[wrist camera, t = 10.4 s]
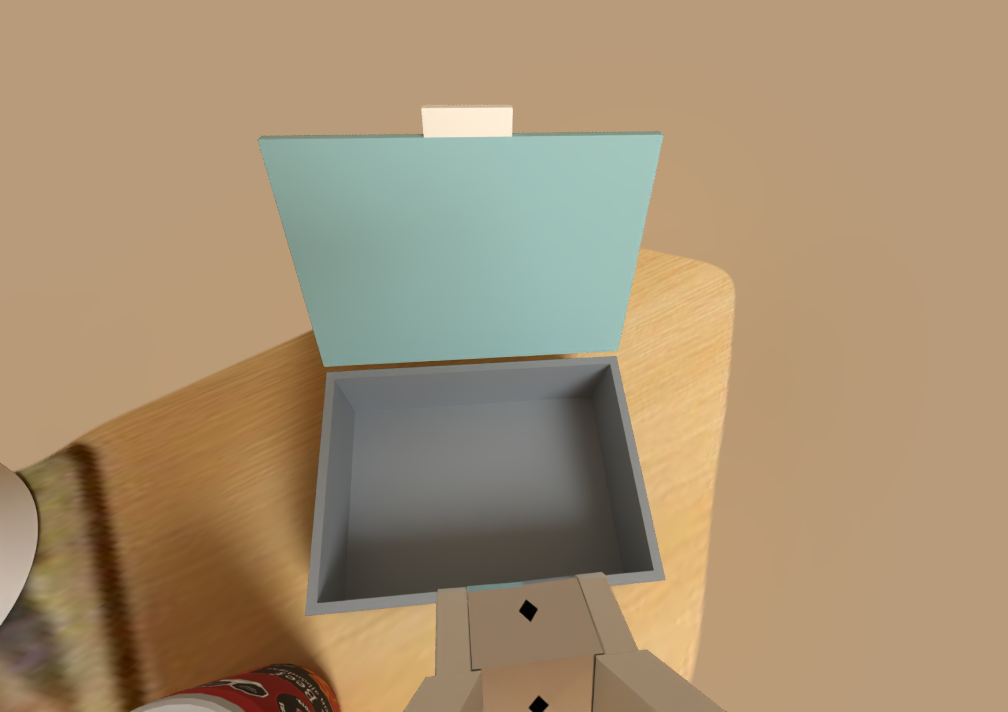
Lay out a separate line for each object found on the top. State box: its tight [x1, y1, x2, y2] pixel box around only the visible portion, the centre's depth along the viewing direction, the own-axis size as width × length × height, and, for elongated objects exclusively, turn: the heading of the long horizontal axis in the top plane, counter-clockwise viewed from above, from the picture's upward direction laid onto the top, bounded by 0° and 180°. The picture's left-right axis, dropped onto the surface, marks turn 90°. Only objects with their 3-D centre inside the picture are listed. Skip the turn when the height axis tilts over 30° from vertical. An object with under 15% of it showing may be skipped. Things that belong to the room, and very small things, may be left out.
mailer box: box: [305, 356, 665, 616], centre depth 29 cm, size 18×13×6 cm
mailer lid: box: [258, 105, 663, 367], centre depth 26 cm, size 18×14×1 cm
